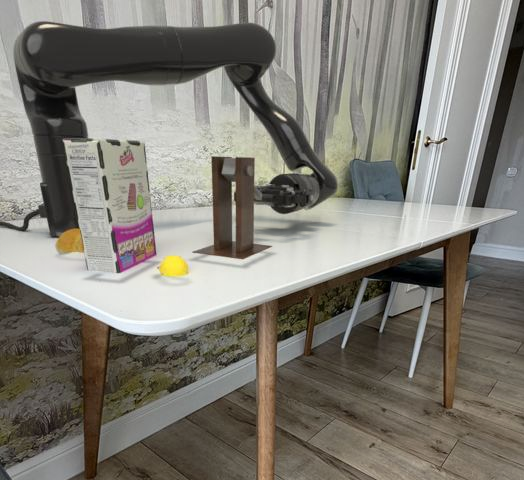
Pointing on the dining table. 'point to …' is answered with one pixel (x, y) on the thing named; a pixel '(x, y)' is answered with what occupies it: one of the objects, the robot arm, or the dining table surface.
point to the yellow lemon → (173, 266)
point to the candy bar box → (111, 202)
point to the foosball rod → (230, 174)
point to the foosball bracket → (224, 211)
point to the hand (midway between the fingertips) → (258, 198)
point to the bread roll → (69, 242)
